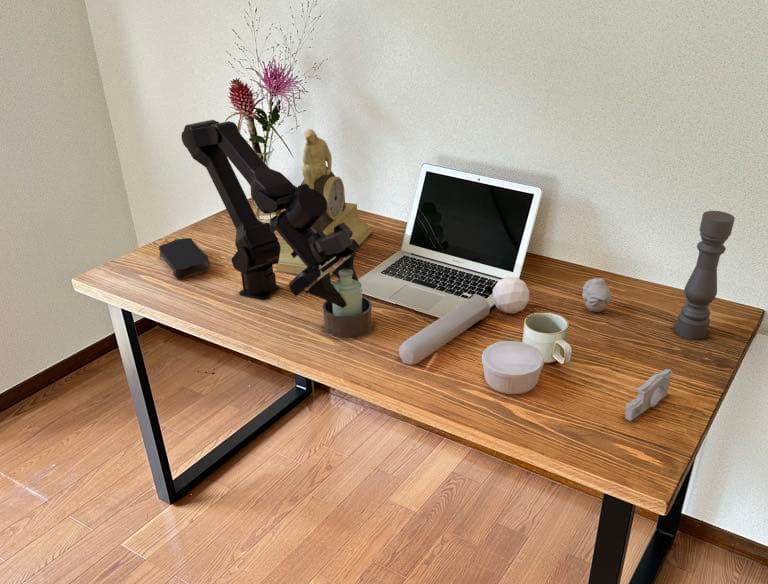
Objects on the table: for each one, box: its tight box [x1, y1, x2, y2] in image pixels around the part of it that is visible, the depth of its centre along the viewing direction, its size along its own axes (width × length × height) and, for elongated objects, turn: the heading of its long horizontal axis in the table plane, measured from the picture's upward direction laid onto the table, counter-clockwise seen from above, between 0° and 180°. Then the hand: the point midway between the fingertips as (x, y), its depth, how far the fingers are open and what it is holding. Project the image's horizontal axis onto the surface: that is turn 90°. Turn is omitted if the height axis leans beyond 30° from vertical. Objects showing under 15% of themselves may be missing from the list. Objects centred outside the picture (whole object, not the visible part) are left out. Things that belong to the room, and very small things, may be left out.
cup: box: [321, 295, 373, 339], centre depth 148 cm, size 10×10×5 cm
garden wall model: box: [624, 368, 674, 422], centre depth 125 cm, size 12×2×6 cm, turn 133°
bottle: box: [332, 269, 363, 316], centre depth 145 cm, size 6×6×12 cm
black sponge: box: [158, 237, 211, 280], centre depth 171 cm, size 16×8×4 cm, turn 32°
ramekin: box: [481, 340, 545, 395], centre depth 132 cm, size 11×11×5 cm
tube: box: [397, 293, 491, 366], centre depth 144 cm, size 5×5×25 cm
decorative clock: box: [276, 128, 372, 276], centre depth 172 cm, size 28×13×30 cm, turn 164°
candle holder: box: [674, 210, 736, 340], centre depth 143 cm, size 6×6×25 cm
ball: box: [492, 276, 530, 314], centre depth 154 cm, size 8×8×8 cm
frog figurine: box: [581, 277, 612, 313], centre depth 155 cm, size 6×7×7 cm
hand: (353, 299), depth 145 cm, fingers closed on bottle, 6 cm apart
